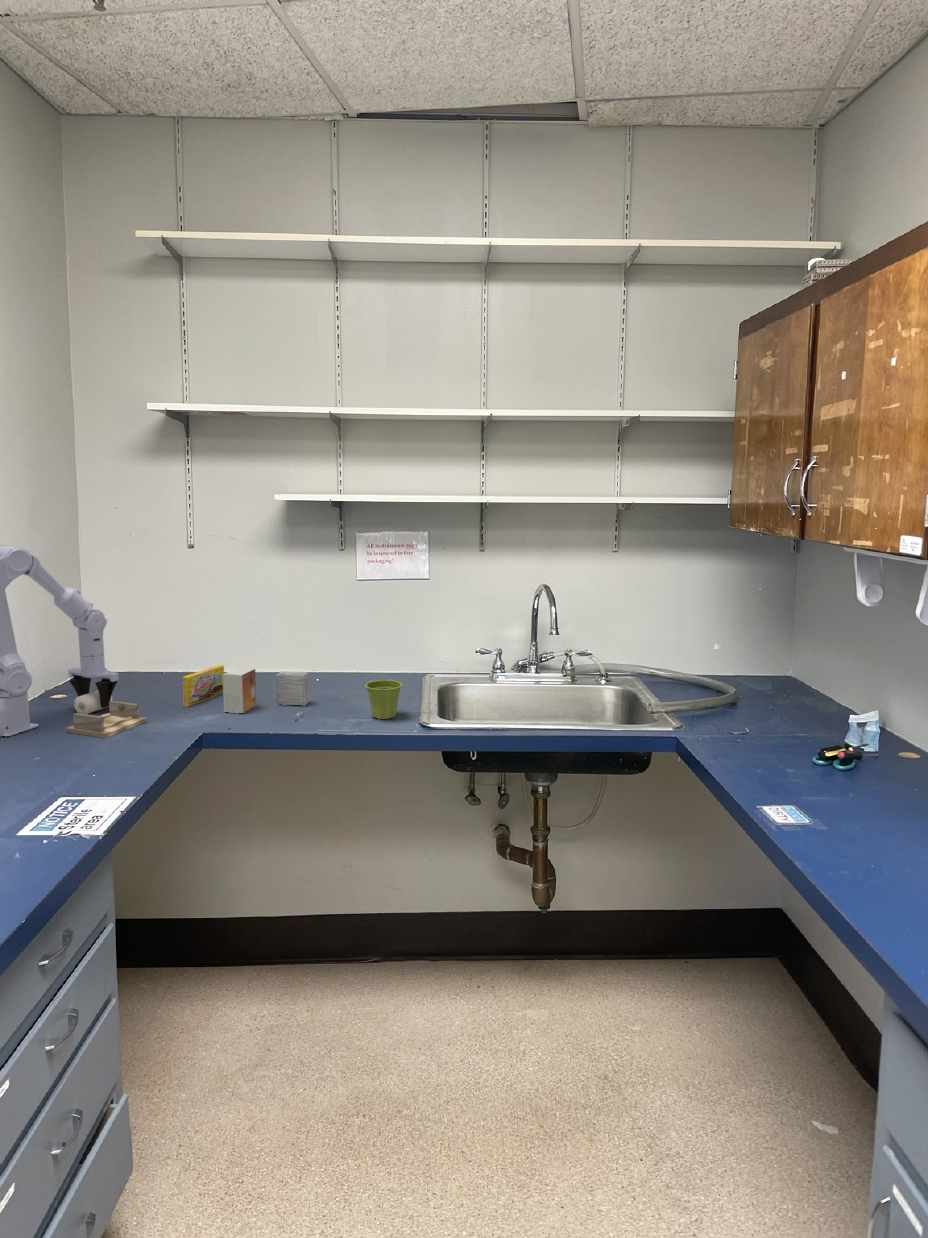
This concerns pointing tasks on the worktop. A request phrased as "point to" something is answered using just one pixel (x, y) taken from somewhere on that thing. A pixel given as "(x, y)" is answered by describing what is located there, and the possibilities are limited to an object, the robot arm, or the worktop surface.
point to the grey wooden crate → (292, 688)
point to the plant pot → (383, 698)
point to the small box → (239, 690)
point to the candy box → (202, 685)
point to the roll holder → (107, 720)
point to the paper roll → (88, 703)
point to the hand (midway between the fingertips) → (95, 705)
